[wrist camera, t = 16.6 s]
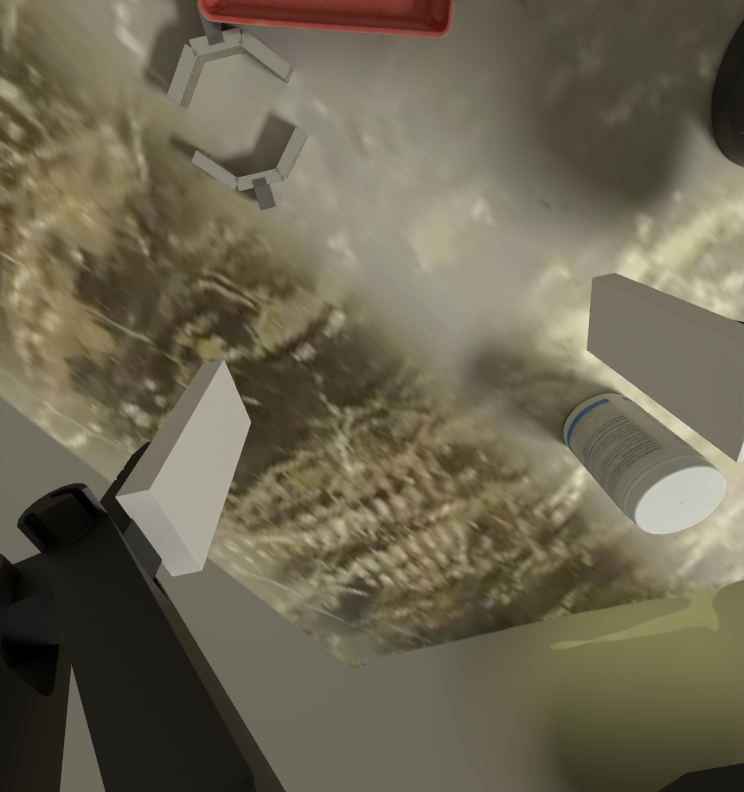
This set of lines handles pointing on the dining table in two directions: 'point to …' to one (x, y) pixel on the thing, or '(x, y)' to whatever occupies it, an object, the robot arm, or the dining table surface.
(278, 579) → the dining table surface
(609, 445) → the supplement tub
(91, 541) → the robot arm
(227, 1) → the plant saucer
